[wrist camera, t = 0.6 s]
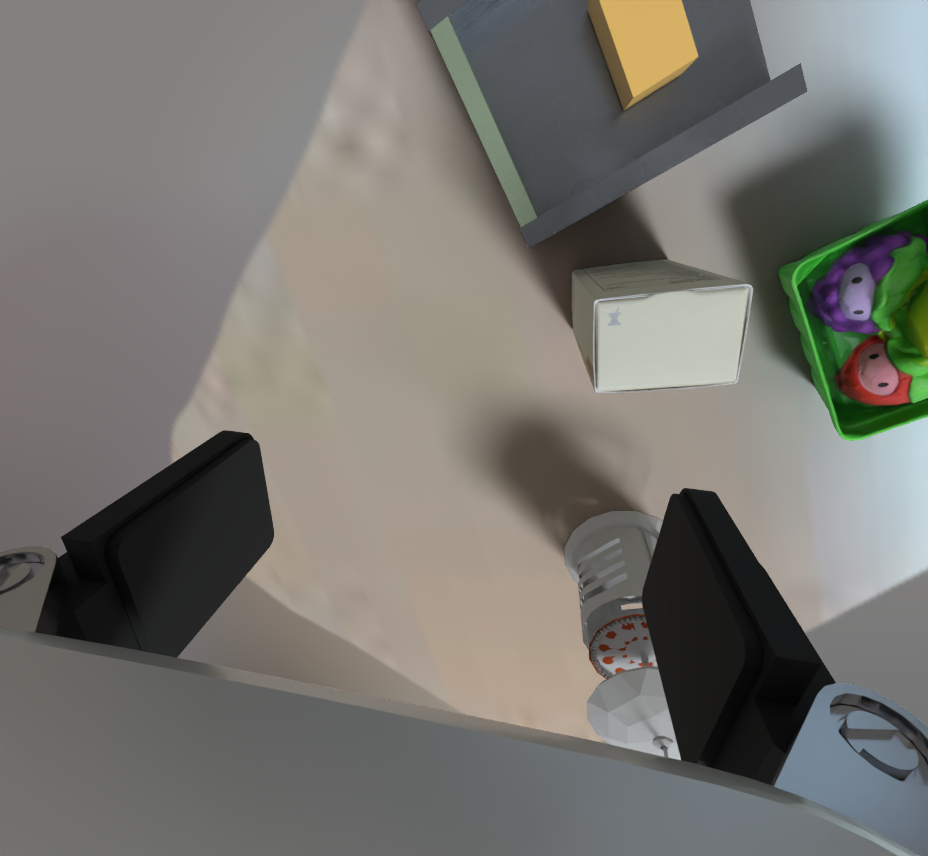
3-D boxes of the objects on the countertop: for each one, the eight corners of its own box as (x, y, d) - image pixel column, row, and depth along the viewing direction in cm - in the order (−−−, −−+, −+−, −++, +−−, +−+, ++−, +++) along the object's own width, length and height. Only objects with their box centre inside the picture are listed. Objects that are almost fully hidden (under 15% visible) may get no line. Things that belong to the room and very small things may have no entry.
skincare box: (572, 333, 31) (585, 396, 20) (570, 268, 29) (584, 298, 19) (670, 325, 30) (742, 388, 19) (675, 256, 28) (757, 282, 17)
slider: (646, -36, 22) (660, -71, 19) (680, 74, 23) (698, 56, 20) (587, 8, 23) (592, -20, 20) (623, 111, 24) (633, 97, 21)
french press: (542, 567, 40) (537, 1000, 18) (620, 474, 35) (747, 920, 13) (635, 616, 41) (741, 1093, 19) (725, 531, 36) (1021, 1052, 13)
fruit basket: (747, 260, 28) (862, 285, 18) (919, 175, 25) (1177, 147, 15) (799, 412, 31) (921, 506, 21) (956, 354, 28) (1187, 432, 18)
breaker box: (690, -166, 21) (724, -257, 17) (764, 111, 24) (807, 91, 20) (436, 37, 25) (415, 4, 21) (531, 244, 29) (528, 248, 25)
